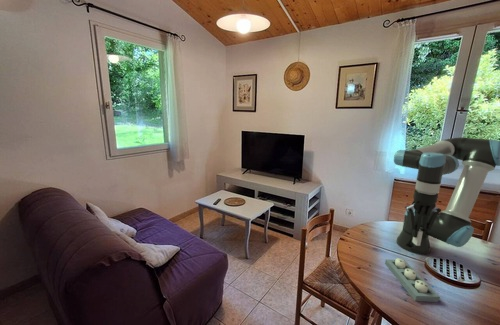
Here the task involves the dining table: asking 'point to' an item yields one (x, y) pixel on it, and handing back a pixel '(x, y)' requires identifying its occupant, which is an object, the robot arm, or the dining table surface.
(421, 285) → the button
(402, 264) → the button
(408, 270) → the button
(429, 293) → the button board
